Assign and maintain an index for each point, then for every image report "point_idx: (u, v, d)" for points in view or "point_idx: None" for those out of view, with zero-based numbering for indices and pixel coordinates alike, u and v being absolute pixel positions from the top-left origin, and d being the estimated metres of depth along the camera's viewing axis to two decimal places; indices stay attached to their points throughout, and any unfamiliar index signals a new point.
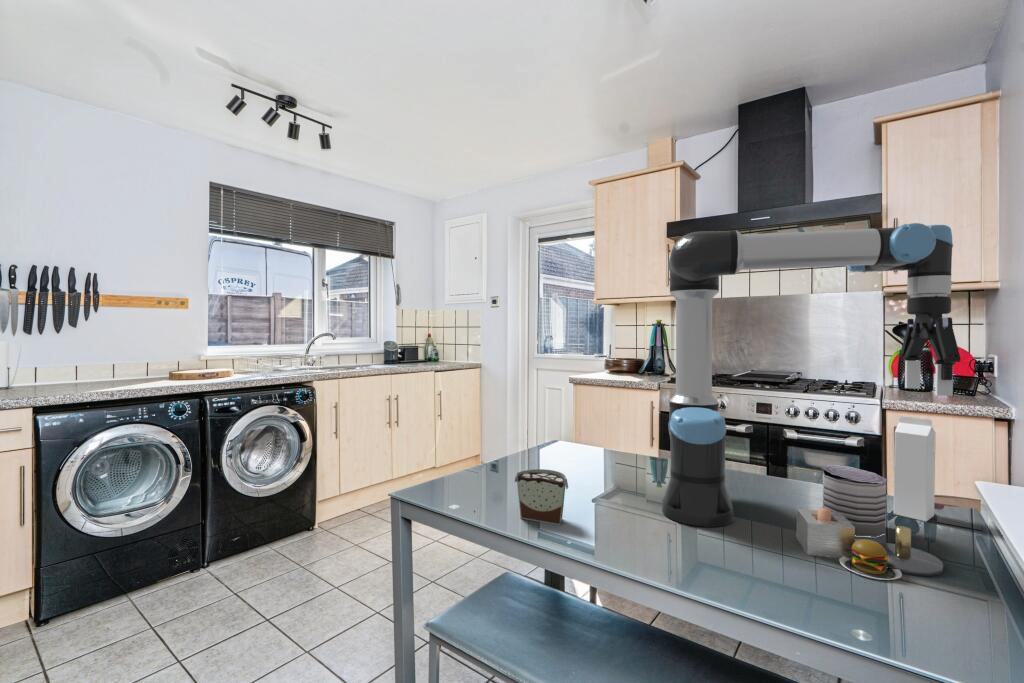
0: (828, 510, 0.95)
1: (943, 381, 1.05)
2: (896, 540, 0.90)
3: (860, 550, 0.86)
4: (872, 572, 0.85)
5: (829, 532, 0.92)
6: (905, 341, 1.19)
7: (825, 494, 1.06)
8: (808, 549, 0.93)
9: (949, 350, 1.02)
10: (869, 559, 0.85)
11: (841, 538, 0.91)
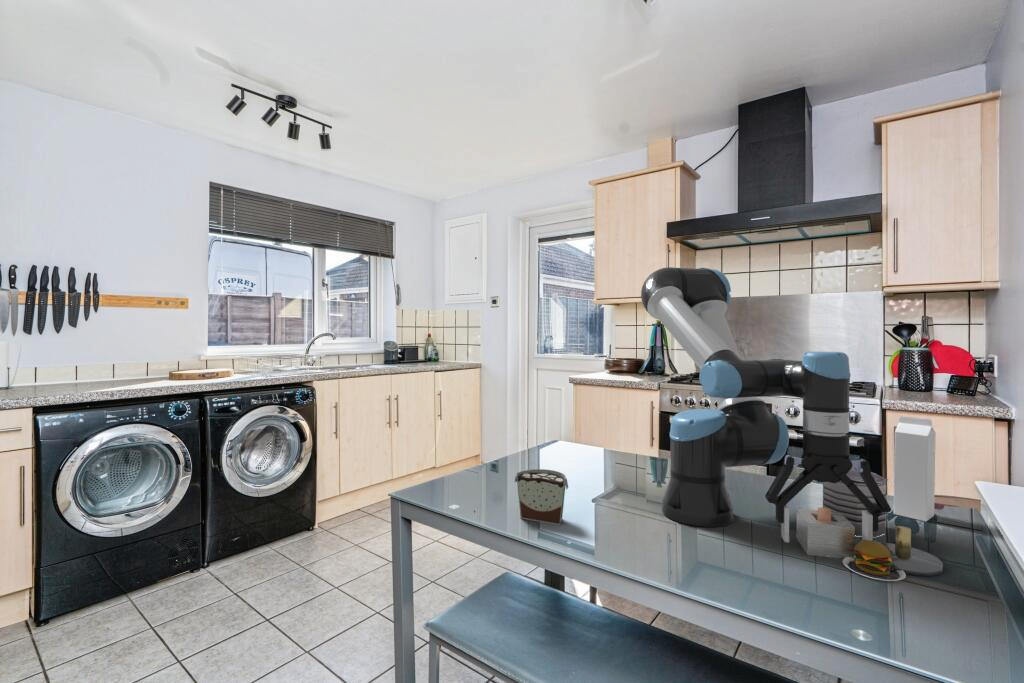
0: (828, 510, 0.95)
1: (782, 523, 0.97)
2: (896, 540, 0.90)
3: (863, 551, 0.86)
4: (875, 573, 0.85)
5: (829, 532, 0.92)
6: None
7: (825, 494, 1.06)
8: (808, 549, 0.93)
9: (770, 488, 0.98)
10: (872, 560, 0.85)
11: (841, 538, 0.91)
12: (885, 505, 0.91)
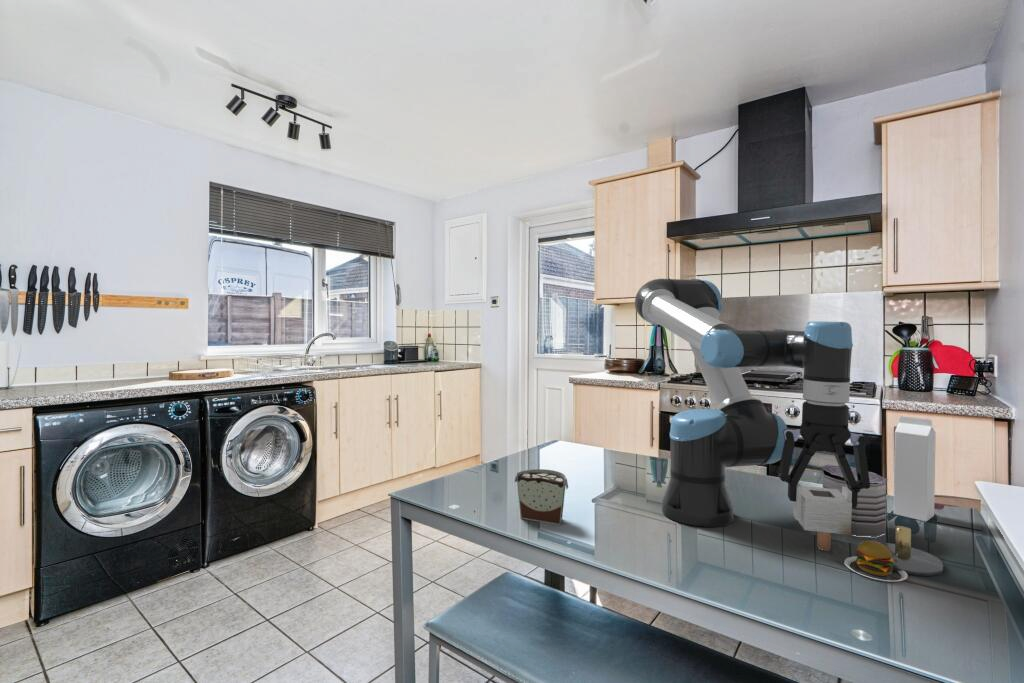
0: None
1: (794, 501, 0.97)
2: (896, 540, 0.90)
3: (865, 551, 0.86)
4: (877, 574, 0.85)
5: (826, 508, 0.92)
6: None
7: None
8: (804, 525, 0.93)
9: (780, 467, 0.98)
10: (874, 560, 0.85)
11: (838, 513, 0.92)
12: (866, 481, 0.93)
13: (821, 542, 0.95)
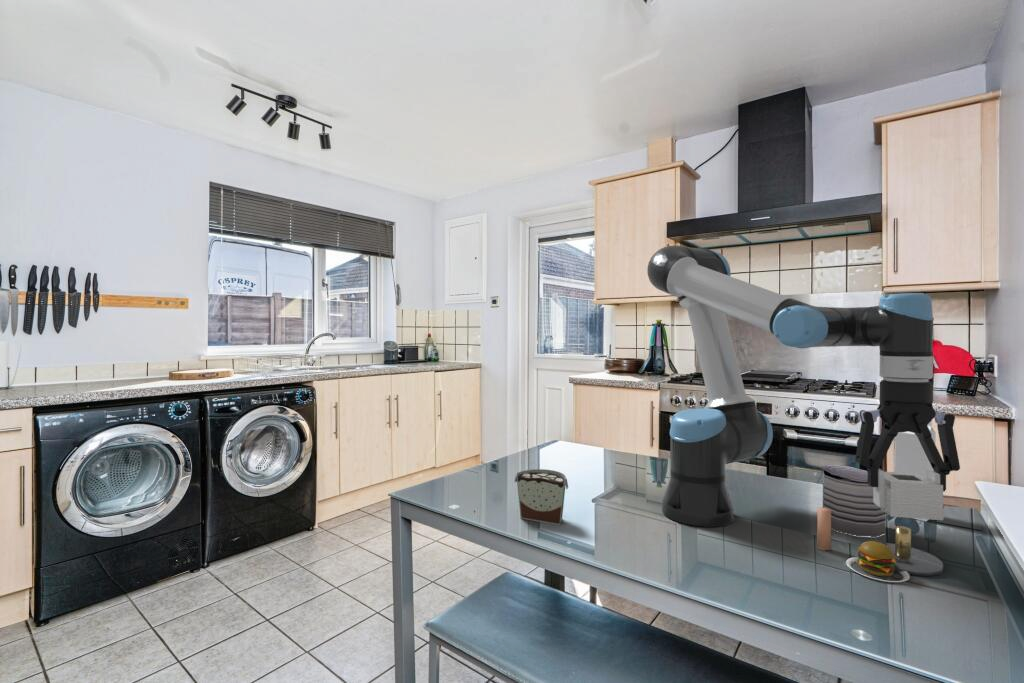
0: (828, 510, 0.95)
1: (875, 487, 0.91)
2: (896, 540, 0.90)
3: (867, 552, 0.86)
4: (879, 574, 0.84)
5: (914, 491, 0.86)
6: None
7: (825, 494, 1.06)
8: (891, 511, 0.87)
9: (858, 451, 0.92)
10: (875, 561, 0.85)
11: (928, 497, 0.85)
12: (955, 463, 0.86)
13: (821, 542, 0.95)
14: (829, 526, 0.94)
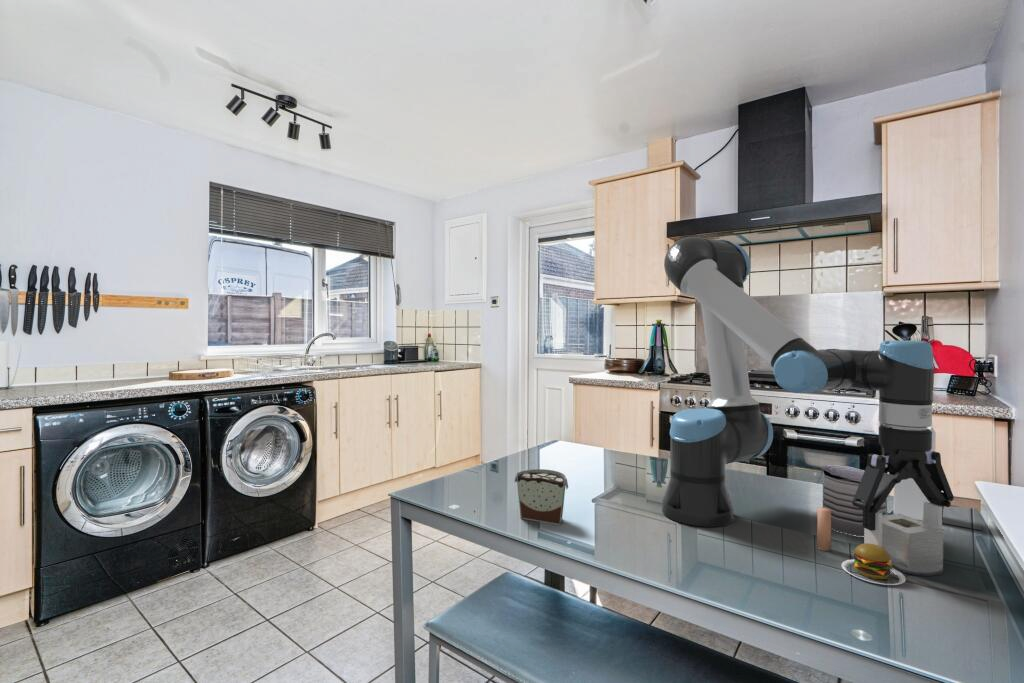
0: (828, 510, 0.95)
1: (869, 530, 0.89)
2: None
3: (862, 554, 0.85)
4: (874, 577, 0.84)
5: (925, 539, 0.86)
6: None
7: (825, 494, 1.06)
8: (908, 562, 0.85)
9: (860, 494, 0.88)
10: (871, 563, 0.84)
11: (933, 543, 0.87)
12: (950, 494, 0.91)
13: (821, 542, 0.95)
14: (829, 526, 0.94)
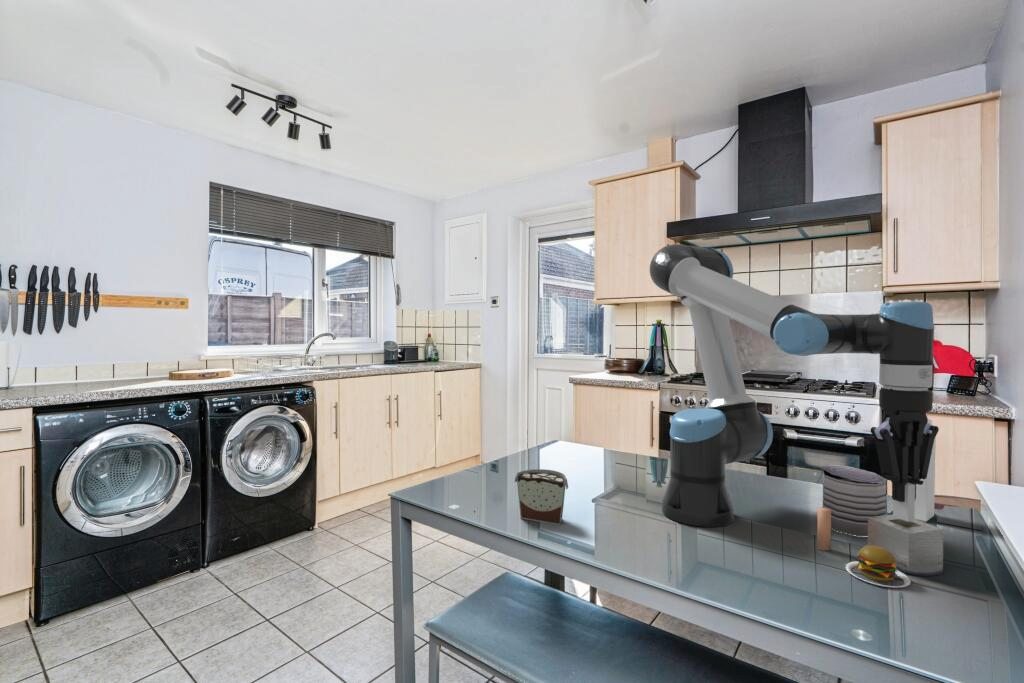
0: (828, 510, 0.95)
1: (899, 502, 0.90)
2: None
3: (866, 556, 0.84)
4: (878, 579, 0.83)
5: (925, 539, 0.86)
6: None
7: (825, 494, 1.06)
8: (908, 562, 0.85)
9: (884, 468, 0.89)
10: (875, 565, 0.83)
11: (933, 543, 0.87)
12: (925, 472, 0.89)
13: (821, 542, 0.95)
14: (829, 526, 0.94)
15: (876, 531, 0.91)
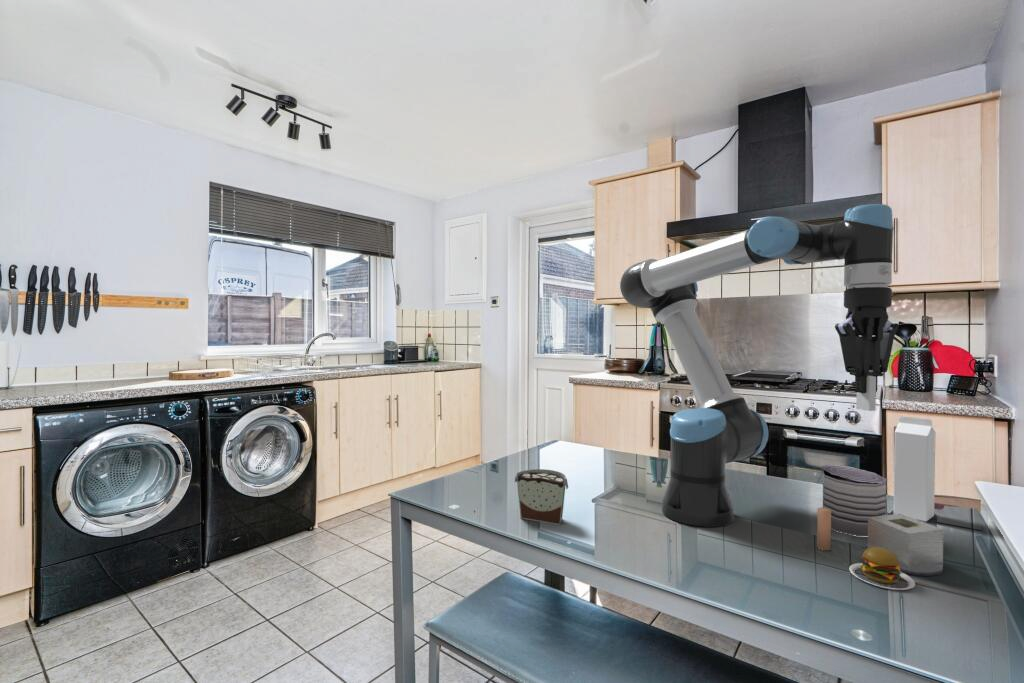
0: (828, 510, 0.95)
1: (861, 394, 0.96)
2: None
3: (870, 558, 0.84)
4: (882, 581, 0.82)
5: (925, 539, 0.86)
6: None
7: (825, 494, 1.06)
8: (908, 562, 0.85)
9: (847, 362, 0.96)
10: (879, 567, 0.82)
11: (933, 543, 0.87)
12: (885, 365, 0.96)
13: (821, 542, 0.95)
14: (829, 526, 0.94)
15: (876, 531, 0.91)
